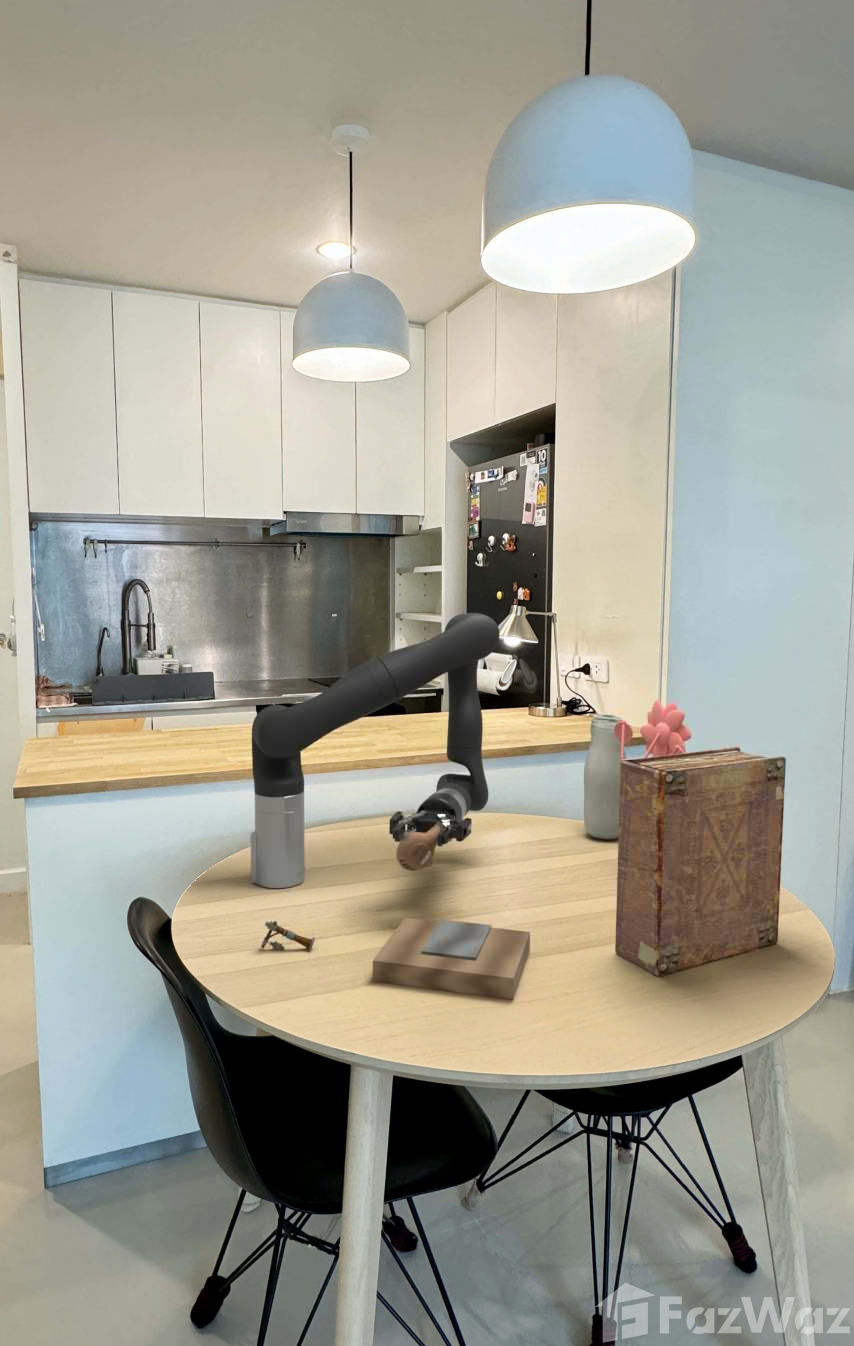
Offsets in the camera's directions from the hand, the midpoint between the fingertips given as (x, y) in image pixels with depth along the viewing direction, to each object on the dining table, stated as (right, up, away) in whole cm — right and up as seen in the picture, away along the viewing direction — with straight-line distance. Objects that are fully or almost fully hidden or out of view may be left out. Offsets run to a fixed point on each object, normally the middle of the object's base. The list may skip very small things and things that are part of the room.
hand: (418, 838), depth 135 cm
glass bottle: (+41, -10, +52) cm, 67 cm away
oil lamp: (0, -6, +3) cm, 7 cm away
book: (+43, -16, -7) cm, 47 cm away
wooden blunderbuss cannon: (-20, -16, -8) cm, 27 cm away
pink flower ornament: (+46, -13, +22) cm, 53 cm away
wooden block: (+5, -16, -13) cm, 21 cm away
